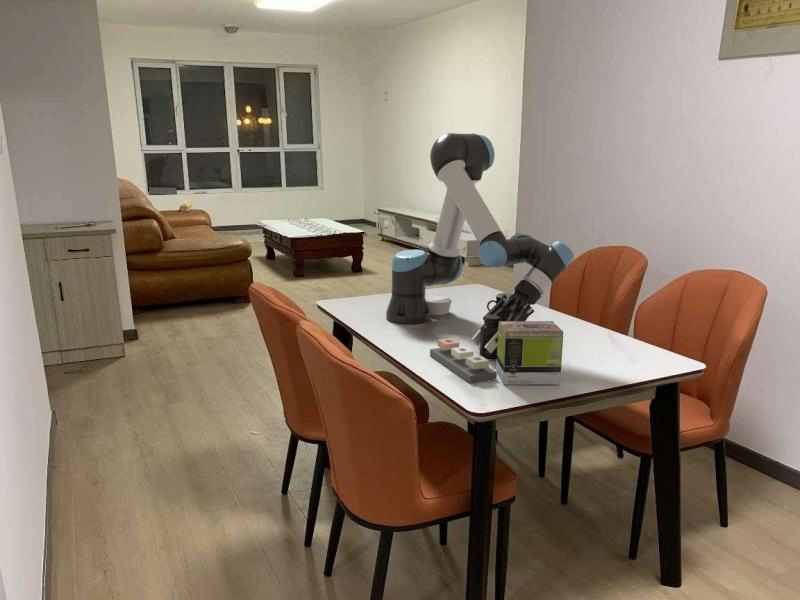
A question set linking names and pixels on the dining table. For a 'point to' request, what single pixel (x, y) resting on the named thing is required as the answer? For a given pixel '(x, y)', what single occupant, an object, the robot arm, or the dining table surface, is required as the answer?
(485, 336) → the supplement bottle
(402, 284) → the robot arm
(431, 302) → the ramekin
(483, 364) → the key
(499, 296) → the coffee mug
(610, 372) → the dining table surface
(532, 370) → the tea box
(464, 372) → the board
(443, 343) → the key
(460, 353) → the key mid
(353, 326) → the dining table surface
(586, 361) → the dining table surface
